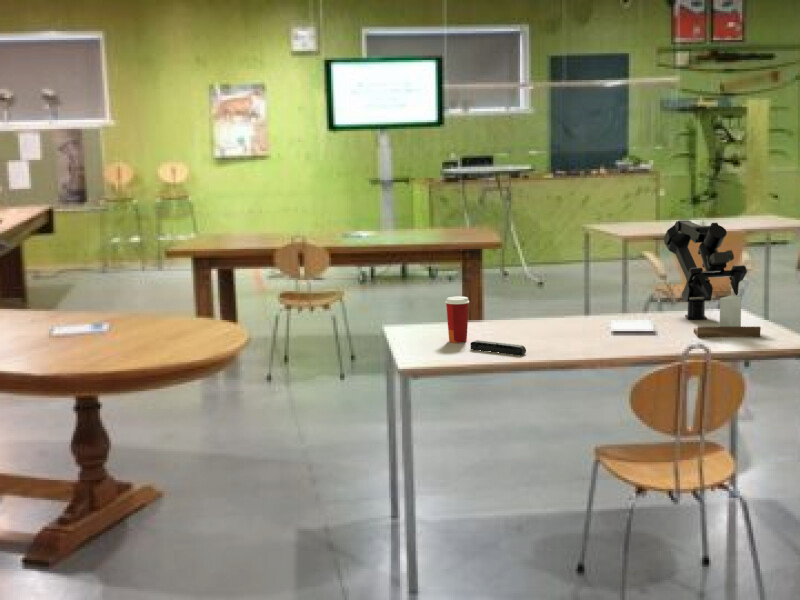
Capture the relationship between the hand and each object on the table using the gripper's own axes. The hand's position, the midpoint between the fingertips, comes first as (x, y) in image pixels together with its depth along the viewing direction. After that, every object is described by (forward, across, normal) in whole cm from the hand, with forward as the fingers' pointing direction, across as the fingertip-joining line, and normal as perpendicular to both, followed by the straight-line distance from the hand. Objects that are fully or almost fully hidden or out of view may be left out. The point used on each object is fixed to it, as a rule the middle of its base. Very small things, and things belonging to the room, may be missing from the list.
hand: (723, 295), depth 324 cm
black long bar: (+20, -77, -6) cm, 80 cm away
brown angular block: (+13, -2, +3) cm, 13 cm away
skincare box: (+13, 0, +4) cm, 13 cm away
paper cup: (+8, -87, +7) cm, 87 cm away
